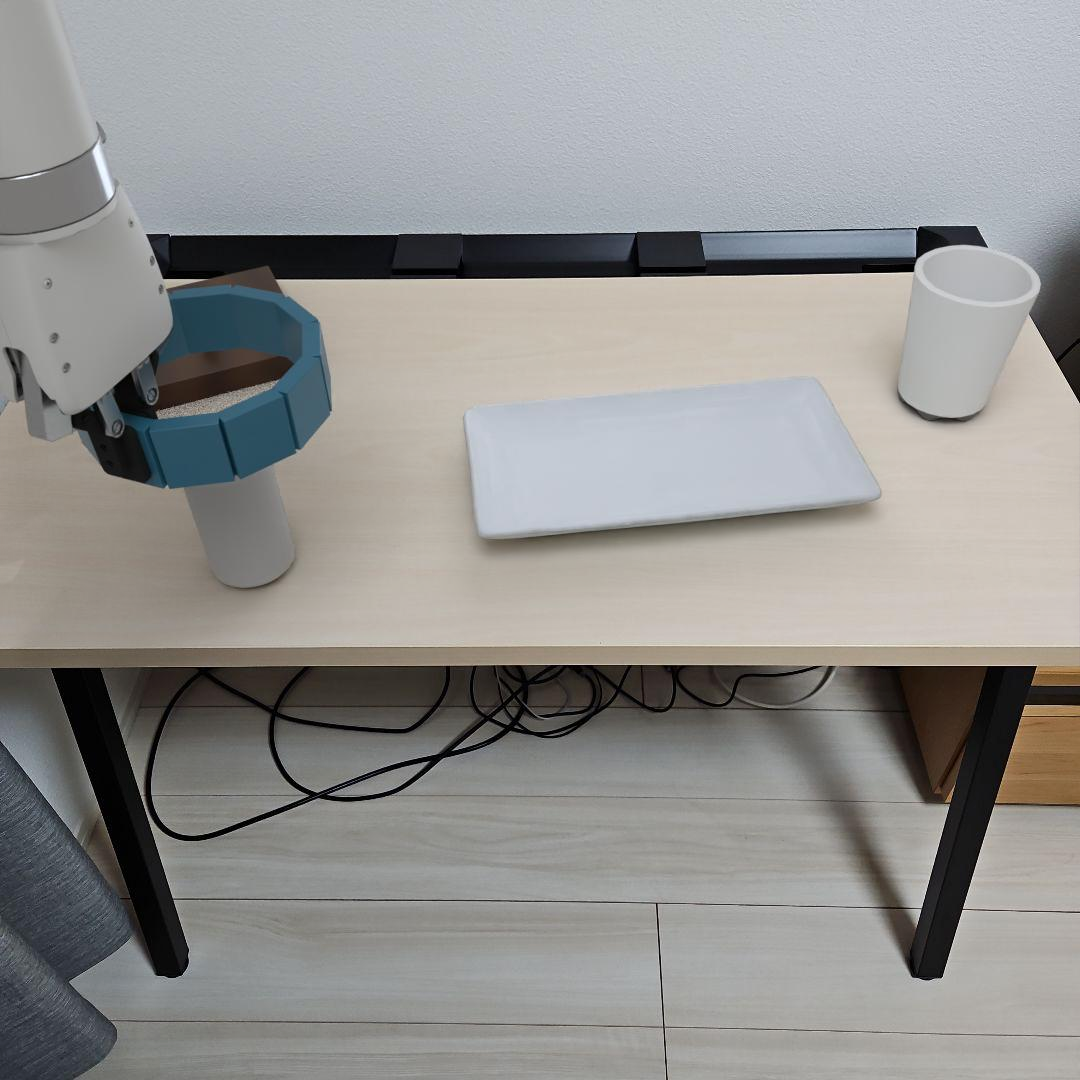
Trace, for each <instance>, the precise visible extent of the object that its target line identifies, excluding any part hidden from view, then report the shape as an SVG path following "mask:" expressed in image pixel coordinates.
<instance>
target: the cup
mask: <svg viewBox="0 0 1080 1080" xmlns="http://www.w3.org/2000/svg"><path fill="white" fill-rule="evenodd" d="M1041 285H1042V283H1041V280H1040V276H1039V275H1038V273H1037V272H1036V271H1035V269H1033V267H1032V266H1030V265H1029V264H1028V263H1027V262H1026V261H1024V260H1023V259H1021V258H1019V257H1017V256H1015V255H1012V254H1010V253H1008V252H1004V251H1002V250H999V249H995V248H991V247H985V246H981V245H972V244H971V245H970V244H955V245H947V246H943V247H938V248H934V249H932V250H929V251H927V252H925V253H923V254H922V255H921V256H920V257H918V258H917V259H916V262H915V265H914V270H913V277H912V284H911V291H910V297H909V304H908V311H907V317H906V323H905V324H906V325H905V332H904V339H903V344H902V345H903V347H902V353H901V359H900V367H899V372H898V373H899V374H898V379H897V380H898V381H897V395H898V399H899V400H900V401H901V402H903V403H906V404H908V405H909V406H911V407H912V408H913V409H914V410H915V411H917V412H918V414H919V415H920V416H921V417H922V418H923V419H924V420H926V421H934V420H937V419H949V418H950V419H956V420H958V421H961V422H962V421H963V422H967V421H969V420H971V419H972V418H973V417H974V416H976V415H977V413H979V412H980V411H981V410H982V409H983V408H984V407H985V406H986V405H987V403H988V401H989V398H990V397H991V394H992V392H993V390H994V388H995V386H996V384H997V382H998V380H999V377H1000V375H1001V374H1002V371H1003V369H1004V367H1005V366H1006V363H1007V360H1008V358H1009V356H1010V355H1011V352H1012V350H1013V348H1014V346H1015V344H1016V342H1017V340H1018V338H1019V335H1020V333H1021V331H1022V329H1023V327H1024V325H1025V323H1026V321H1027V318H1028V317H1029V314H1030V312H1031V310H1032V308H1033V306H1034V304H1035V302H1036V300H1037V298H1038V296H1039V293H1040V290H1041Z"/></svg>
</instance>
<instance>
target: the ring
mask: <svg viewBox="0 0 1080 1080" xmlns="http://www.w3.org/2000/svg"><path fill="white" fill-rule="evenodd" d="M167 294H168V298H169V302H170V306H171V311H172V318H173V325H172V327H173V334H172V336H171V338H170V339H169V341H168V343H167V344H166V346H165V348H164V349H163V351H162V353H161V354H160V355H159V363H158V366H160V365H163V364H165V363H168V362H170V361H173V360H175V359H178V358H180V357H183V356H185V355H188V354H192V353H201V352H210V351H219V350H229V349H238V348H245V349H250V350H255V351H259V352H264V353H269V354H274V355H278V356H283V357H287V358H288V359H289V360H291V361H292V362H293V363H294V365H293V366H292V367H291V368H290V369H289V370H288V372H287V373H286V374H285V375H284V376H283V377H282V378H280V379H278V381H277V382H276V383H275V384H274V385H273V386H272V388H269V389H267V390H265V391H262V392H261V393H258V394H255V395H253V396H251V397H248V398H246V399H244V400H242V401H240V402H237V403H235V404H233V405H230V406H228V407H226V408H223V409H221V410H219V411H216V412H208V413H200V414H191V415H181V416H173V417H165V418H158V419H154V420H153V419H149V418H144V417H140V416H136V415H131V414H127V413H123V412H120V413H121V415H122V418H123V420H124V423H125V425H129V426H132V427H134V428H135V431H136V433H137V436H138V438H139V441H140V444H141V447H142V449H143V452H144V455H145V458H146V460H147V463H148V466H149V469H150V471H151V478H150V479H149V480H148V481H147V482H146V483H142V484H143V485H148V486H152V487H155V488H159V489H163V490H165V488H167V486H168V489H169V490H173V489H181V488H182V489H183V487H191V486H199V485H208V484H216V483H224V482H233V481H235V475H236V476H237V477H238V478H239V479H240V480H241V479H243V478H245V477H247V476H249V475H251V474H254V473H256V472H258V471H260V470H262V469H264V468H266V467H268V466H270V465H273V466H274V465H275V464H277V463H279V462H281V461H283V460H285V459H287V458H289V457H291V456H293V455H296V454H297V451H301V450H302V449H303V448H304V447H305V446H306V444H307V443H308V442H309V441H310V440H311V439H312V437H313V436H314V435H315V434H316V433H317V431H318V430H319V429H320V428H321V427H322V425H323V424H324V423H325V422H326V421H327V420H328V419H329V417H330V416H331V412H333V409H332V408H333V406H332V405H333V404H332V376H331V372H330V366H329V361H328V355H327V351H326V345H325V341H324V336H323V330H322V326H321V322H320V321H319V319H318V318H317V316H315V315H313V314H312V313H311V312H310V311H308V309H306V308H305V307H303V306H302V305H301V304H300V303H298V302H297V301H296V300H295V299H293V298H292V297H291V296H289V295H287V296H286V294H284V293H283V294H280V293H275V292H269V291H264V290H259V289H254V288H249V287H243V286H238V285H235V286H234V287H233V288H232V287H231V285H222V286H212V287H202V288H192V289H182V290H173V292H172V295H171V294H170V293H169V292H167ZM90 409H91V410H92V411H94V409H93V407H92V405H91V406H90ZM77 434H78V436H79V438H80V441H81V444H83V446H84V447H85V448H86V449H87V451H88V452H89V453H90V454H91V456H92V457H93V458H94V459H95V461H96V462H97V463H98V464H99V465H100V466H101V464H100V462H99V459H98V457H97V455H96V452H95V450H94V447H93V445H92V442H91V440H90V437H89V435H88V432H87V431H83V430H77ZM126 480H127V481H129V480H128V479H126Z"/></svg>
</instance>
